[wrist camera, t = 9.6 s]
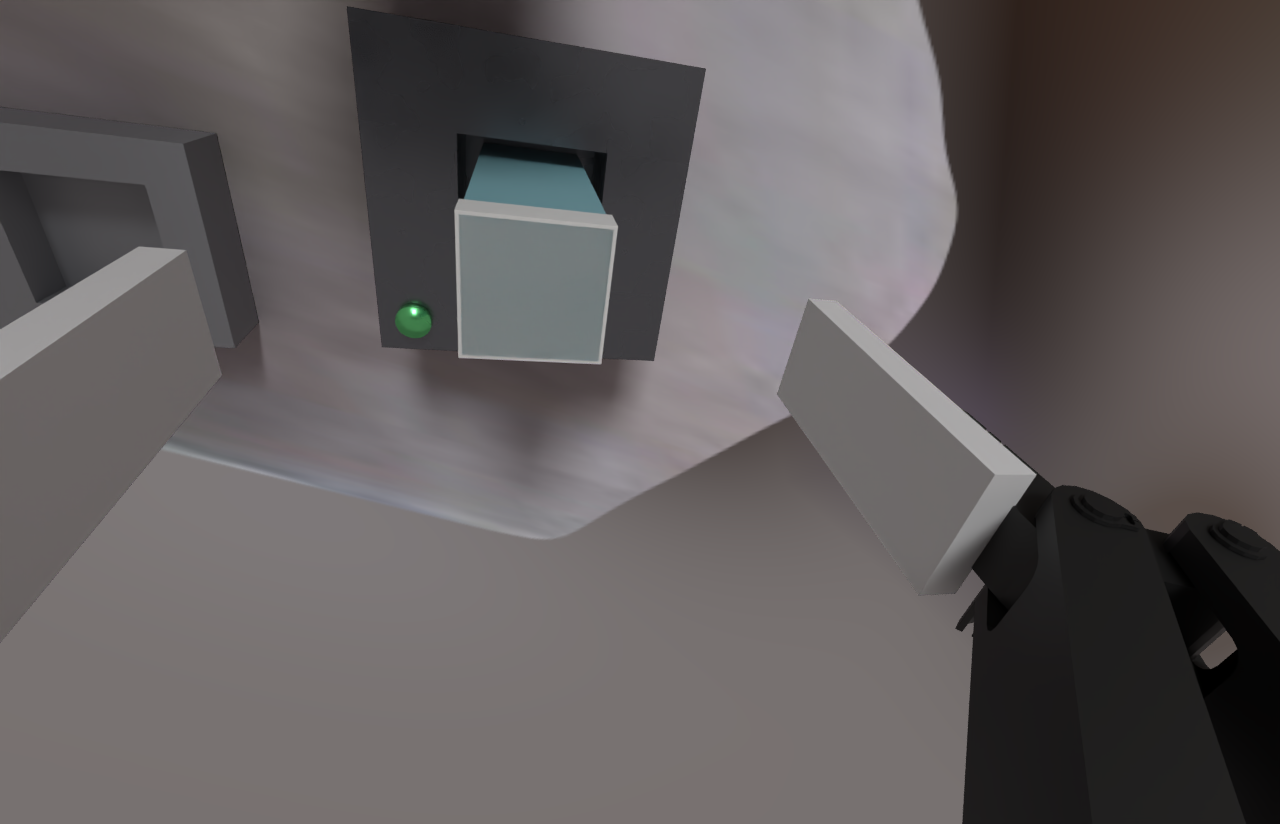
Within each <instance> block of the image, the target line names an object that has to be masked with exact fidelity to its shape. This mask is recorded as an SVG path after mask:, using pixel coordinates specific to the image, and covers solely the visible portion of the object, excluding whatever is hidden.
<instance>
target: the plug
mask: <svg viewBox="0 0 1280 824" xmlns="http://www.w3.org/2000/svg"><path fill="white" fill-rule="evenodd" d="M454 213H455V249H456V285H457V322H458V358H473V359H495V360H517V361H539V362H561V363H582V364H601V362H602V354H603V346H604V338H605V329H606V321H607V313H608V305H609V296H610V288H611V280H612V272H613V263H614V255H615V247H616V239H617V230H618V225H617V223H616V222H615V220H614V218H613V216H612V215H608V214H606V213H605V211H604V208H603V206H602V204H601V202H600V200H599V198H598V196H597V194H596V192H595V190H594V188H593V186H592V184H591V182H590V180H589V178H588V176H587V174H586V172H585V170H584V168H583V166H582V164H581V161H580V159H579V157H578V155H577V154H569V153H562V152H554V151H546V150H538V149H530V148H523V147H515V146H507V145H499V144H491V143H483V146H482V149H481V152H480V154H479V157H478V160H477V163H476V166H475V169H474V172H473V174H472V177H471V180H470V183H469V186H468V189H467V192H466V195H465V197H464V199H458V202H457V204H456V207H455V210H454Z"/></svg>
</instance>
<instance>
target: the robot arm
mask: <svg viewBox="0 0 1280 824" xmlns="http://www.w3.org/2000/svg"><path fill="white" fill-rule="evenodd" d="M221 376H222V373H221V369H220V366H219V362H218V359H217V355H216V352H215V348H214V345H213V341H212V338H211V334H210V331H209V327H208V324H207V321H206V317H205V314H204V310H203V307H202V303H201V300H200V296H199V293H198V289H197V286H196V282H195V279H194V275H193V272H192V268H191V265H190V261H189V258H188V254H187V251H186V250H178V249H166V248H153V247H140V246H139V247H137V248H136V249H134V250H132V251H131V252H129V253H127V254H126V255H124V256H122V257H120V258H119V259H117V260H115V261H114V262H112V263H110V264H109V265H107V266H105V267H104V268H102V269H100V270H99V271H97V272H95V273H94V274H92V275H90V276H89V277H87V278H85V279H84V280H82V281H80V282H79V283H77V284H75V285H74V286H72V287H70V288H69V289H67V290H65V291H64V292H62V293H60V294H59V295H57V296H55V297H54V298H52V299H50V300H49V301H47V302H45V303H44V304H42V305H40V306H38V307H37V308H35V309H33V310H32V311H30V312H28V313H27V314H25V315H23V316H22V317H20V318H18V319H17V320H15V321H13V322H12V323H10V324H8V325H7V326H5V327H3V328H2V329H0V643H1V641H2V640H3V639H4V638H5V637H6V635H7V634H8V633H9V632H10V631H11V629H12V628H13V627H14V626H15V624H16V623H17V622H18V621H19V620H20V619H21V617H22V616H23V615H24V614H25V612H26V611H27V610H28V609H29V608H30V606H31V605H32V604H33V603H34V602H35V600H36V599H37V598H38V597H39V596H40V594H41V593H42V592H43V591H44V589H45V588H46V587H47V586H48V585H49V583H50V582H51V581H52V580H53V578H54V577H55V576H56V575H57V574H58V573H59V571H60V570H61V569H62V568H63V566H64V565H65V564H66V563H67V562H68V561H69V559H70V558H71V557H72V556H73V555H74V553H75V552H76V551H77V550H78V549H79V547H80V546H81V545H82V544H83V542H84V541H85V540H86V539H87V538H88V536H89V535H90V534H91V533H92V531H93V530H94V529H95V528H96V527H97V526H98V524H99V523H100V522H101V521H102V520H103V518H104V517H105V516H106V515H107V514H108V512H109V511H110V510H111V508H112V507H113V506H114V505H115V504H116V503H117V501H118V500H119V499H120V498H121V496H122V495H123V494H124V493H125V492H126V490H127V489H128V488H129V487H130V486H131V485H132V483H133V482H134V481H135V480H136V479H137V477H138V476H139V475H140V474H141V472H142V471H143V470H144V469H145V468H146V466H147V465H148V464H149V463H150V462H151V460H152V459H153V458H154V457H155V456H156V454H157V453H158V452H159V451H160V450H161V448H162V447H163V446H164V445H165V444H166V442H167V441H168V440H169V439H170V438H171V436H172V435H173V434H174V433H175V431H176V430H177V429H178V428H179V427H180V425H181V424H182V423H183V422H184V421H185V419H186V418H187V417H188V416H189V415H190V413H191V412H192V411H193V410H194V409H195V407H196V406H197V405H198V404H199V403H200V401H201V400H202V399H203V398H204V396H205V395H206V394H207V393H208V392H209V390H210V389H211V388H212V387H213V386H214V384H215V383H216V382H217V381H218V380H219V378H220V377H221ZM777 395H778V396H779V398H780V399H781V401H782V402H783V403H784V405H785V406H786V408H787V409H788V411H789V412H790V413H791V415H792V416H793V418H794V419H795V420H796V422H797V423H798V425H799V426H800V428H801V429H802V430H803V432H804V433H805V435H806V436H807V437H808V439H809V440H810V442H811V443H812V445H813V446H814V447H815V449H816V450H817V452H818V453H819V454H820V456H821V457H822V459H823V460H824V462H825V463H826V464H827V466H828V467H829V469H830V470H831V471H832V473H833V474H834V476H835V477H836V479H837V480H838V481H839V483H840V484H841V486H842V487H843V489H844V490H845V491H846V493H847V494H848V496H849V497H850V499H851V500H852V501H853V503H854V504H855V506H856V507H857V508H858V510H859V511H860V513H861V514H862V516H863V517H864V518H865V520H866V521H867V523H868V524H869V526H870V527H871V528H872V530H873V531H874V533H875V534H876V536H877V537H878V538H879V540H880V541H881V542H882V544H883V546H884V547H885V548H886V550H887V551H888V553H889V554H890V556H891V557H892V558H893V560H894V561H895V563H896V564H897V565H898V567H899V568H900V570H901V571H902V573H903V574H904V575H905V577H906V578H907V580H908V581H909V582H910V584H911V585H912V587H913V588H914V589H915V591H916V592H917V594H918V595H919V596H921V595H938V594H955V593H956V592H957V591H958V589H959V588H960V586H961V585H962V583H963V582H964V580H965V579H966V577H967V576H968V574H969V573H970V572H971V570H972V569H973V570H974V571H975V573H976V574H977V575H978V576H979V577H980V579H981V580H982V581H983V582H984V583H985V585H984V586H983V588H982V589H981V591H980V592H979V593H978V595H977V596H976V598H975V599H974V601H973V602H972V603H971V605H970V606H969V607H968V609H967V610H966V612H965V613H964V615H963V616H962V618H961V619H960V620H959V622H958V624H957V626H956V629H957V630H960V631H963V630H964V628H965V627H966V626H967V624H969V623H973V622H974V631H973V634H972V637H973V648H972V666H971V683H970V701H969V718H968V735H967V753H966V770H965V787H964V788H965V789H964V805H963V822H962V824H1280V551H1279V550H1278V549H1276V548H1275V547H1274V546H1273V545H1272V544H1270V543H1269V542H1267V541H1266V540H1264V539H1263V538H1261V537H1260V536H1259V535H1258V534H1257V533H1256V532H1255V531H1253V530H1252V529H1250V528H1248V527H1246V526H1241V524H1239V523H1237V522H1235V521H1232V520H1225V519H1222V518H1220V517H1217V516H1214V515H1208V514H1203V513H1192V514H1188V515H1187V516H1186V517H1185V518H1184V519H1183V520H1182V521H1181V522H1180V523H1179V525H1178V526H1177V527H1176V528H1175V529H1174V530H1173V531H1172V532H1171V533H1170V534H1167V533H1162V532H1158V531H1153V530H1149V529H1145V528H1144V527H1143V525H1142V523H1141V522H1140V521H1139V520H1138V519H1137V517H1136V516H1135V515H1133V514H1131V513H1130V512H1129V511H1128V510H1127V509H1125V508H1124V507H1122V506H1120V505H1119V504H1117V503H1115V502H1114V501H1112V500H1111V499H1109V498H1107V497H1104V496H1102V495H1100V494H1098V493H1096V492H1093V491H1090V490H1087V489H1084V488H1080V487H1077V486H1066V485H1065V486H1064V485H1062V486H1059V487H1056V488H1054V487H1053V486H1052V485H1051V484H1050V483H1049V482H1048V481H1046V480H1045V479H1044V478H1043V477H1042V476H1040V475H1039V474H1038V473H1037V472H1036V471H1035V470H1034V469H1033V468H1031V467H1030V466H1029V465H1028V464H1027V463H1026V462H1024V461H1023V460H1022V459H1021V458H1020V457H1019V456H1017V455H1016V454H1015V453H1014V452H1013V451H1012V450H1010V449H1009V448H1008V447H1007V446H1006V445H1002V444H1001V441H1000V440H999V439H998V438H997V437H995V436H994V435H993V434H992V433H991V432H987V431H986V428H985V427H984V426H983V425H982V424H980V423H979V422H978V421H977V420H976V419H974V418H973V417H972V416H971V415H970V414H969V413H967V412H966V411H964V410H962V409H961V408H959V407H958V406H957V405H956V404H955V403H954V402H952V401H951V400H950V399H949V398H948V397H946V395H944V394H943V393H942V392H941V391H940V390H939V389H937V388H936V387H935V386H934V385H933V384H932V383H931V382H929V381H928V380H927V379H926V378H925V377H923V375H921V374H920V373H919V372H918V371H917V370H916V369H914V368H913V367H912V366H911V365H910V364H908V363H907V362H906V361H905V360H904V359H903V358H902V357H901V356H899V355H898V354H897V353H896V352H895V351H894V350H893V349H891V348H890V347H889V346H888V345H887V344H886V343H885V342H883V341H882V340H881V339H880V338H879V337H878V336H876V335H875V334H874V333H873V332H872V331H871V330H870V329H868V328H867V327H866V326H865V325H864V324H863V323H861V322H860V321H859V320H858V319H857V318H856V317H855V316H853V315H852V314H851V313H850V312H849V311H848V310H847V309H845V308H844V307H843V306H842V305H841V304H840V303H838V302H837V301H832V300H819V299H808V302H807V305H806V308H805V311H804V314H803V317H802V320H801V323H800V326H799V329H798V332H797V335H796V338H795V341H794V344H793V347H792V350H791V353H790V356H789V359H788V362H787V366H786V369H785V372H784V375H783V378H782V381H781V384H780V387H779V390H778V393H777ZM1225 631H1227V632H1228V633H1229V635H1230V636H1231V637H1232V639H1233V641H1234V643H1235V645H1236V647H1237V650H1236V651H1235V652H1234V653H1232V654H1231V655H1230V656H1229V657H1228V658H1227V659H1225V660H1224V661H1223V662H1222V663H1220V664H1219V665H1218V666H1216V667H1214V668H1212V669H1210V668H1209V667H1207V665H1206V664H1205V663H1204V661H1203V659H1202V658H1201V656H1200V655H1199V654H1200V653H1201V652H1202V651H1203V650H1205V649H1206V648H1207V647H1208V646H1209V645H1210V644H1211V643H1212V642H1213V641H1215V640H1216V639H1217V638H1218V637H1219V636H1220V635H1222V634H1223V633H1224V632H1225Z"/></svg>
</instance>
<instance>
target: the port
mask: <svg viewBox="0 0 1280 824" xmlns="http://www.w3.org/2000/svg"><path fill="white" fill-rule="evenodd" d="M347 14H348V23H349V33H350V43H351V52H352V62H353V72H354V81H355V91H356V101H357V111H358V120H359V130H360V140H361V149H362V159H363V169H364V178H365V188H366V198H367V207H368V217H369V227H370V236H371V246H372V256H373V265H374V275H375V285H376V295H377V304H378V314H379V324H380V333H381V343H382V347H389V348H409V349H429V350H449V351H458V322H457V285H456V249H455V213H454V210H455V207H456V204H457V202H458V199H464V197H465V195H466V192H467V189H468V186H469V183H470V180H471V177H472V174H473V172H474V169H475V166H476V163H477V160H478V157H479V154H480V152H481V149H482V146H483V143H491V144H499V145H507V146H515V147H523V148H530V149H538V150H546V151H554V152H562V153H569V154H577V155H578V157H579V159H580V161H581V164H582V166H583V168H584V170H585V172H586V174H587V176H588V178H589V180H590V182H591V184H592V186H593V188H594V190H595V192H596V194H597V196H598V198H599V200H600V202H601V204H602V206H603V208H604V211H605V213H606V214H608V215H612V216H613V218H614V220H615V222H616V223H617V225H618V230H617V239H616V247H615V255H614V263H613V272H612V280H611V288H610V296H609V305H608V313H607V321H606V329H605V338H604V346H603V354H602V358H608V359H627V360H647V361H654V357H655V351H656V346H657V340H658V334H659V329H660V323H661V318H662V312H663V306H664V301H665V295H666V289H667V284H668V278H669V273H670V267H671V261H672V256H673V250H674V245H675V239H676V233H677V228H678V222H679V217H680V211H681V205H682V200H683V194H684V189H685V183H686V177H687V172H688V166H689V160H690V155H691V149H692V144H693V138H694V132H695V127H696V121H697V116H698V110H699V104H700V99H701V93H702V88H703V82H704V76H705V71H706V69H705V68H699V67H693V66H687V65H682V64H676V63H670V62H664V61H659V60H653V59H647V58H641V57H636V56H630V55H624V54H618V53H613V52H607V51H601V50H595V49H590V48H584V47H578V46H572V45H566V44H561V43H555V42H549V41H543V40H538V39H532V38H526V37H520V36H515V35H509V34H503V33H497V32H492V31H486V30H480V29H474V28H469V27H463V26H457V25H451V24H446V23H440V22H434V21H428V20H423V19H417V18H411V17H405V16H400V15H394V14H388V13H382V12H377V11H371V10H365V9H359V8H354V7H348V6H347Z"/></svg>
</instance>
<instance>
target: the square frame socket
mask: <svg viewBox="0 0 1280 824" xmlns="http://www.w3.org/2000/svg"><path fill="white" fill-rule="evenodd" d="M139 246H140V247H153V248H166V249H178V250H186V251H187V254H188V258H189V261H190V265H191V268H192V272H193V275H194V279H195V282H196V286H197V289H198V293H199V296H200V300H201V303H202V307H203V310H204V314H205V317H206V321H207V324H208V327H209V331H210V334H211V338H212V341H213V345H214V347H221V348H236V346H237V345H238V344H239V343H240V342H241V341H242V340H243V339H244V338H245V337H246V336H247V334H248V333H249V332H250V331H251V330H252V329H253V328H254V327H255V326H256V325H257V324H258V323H259V322H258V317H257V313H256V308H255V304H254V299H253V295H252V290H251V286H250V281H249V277H248V272H247V268H246V264H245V259H244V255H243V250H242V246H241V241H240V237H239V232H238V228H237V223H236V219H235V214H234V210H233V206H232V201H231V197H230V192H229V188H228V183H227V179H226V174H225V170H224V165H223V161H222V156H221V152H220V147H219V143H218V139H217V134H216V133H210V132H201V131H193V130H185V129H177V128H169V127H160V126H152V125H144V124H136V123H127V122H119V121H111V120H103V119H95V118H86V117H78V116H70V115H62V114H54V113H45V112H37V111H29V110H21V109H12V108H4V107H0V329H2V328H3V327H5V326H7V325H8V324H10V323H12V322H13V321H15V320H17V319H18V318H20V317H22V316H23V315H25V314H27V313H28V312H30V311H32V310H33V309H35V308H37V307H38V306H40V305H42V304H44V303H45V302H47V301H49V300H50V299H52V298H54V297H55V296H57V295H59V294H60V293H62V292H64V291H65V290H67V289H69V288H70V287H72V286H74V285H75V284H77V283H79V282H80V281H82V280H84V279H85V278H87V277H89V276H90V275H92V274H94V273H95V272H97V271H99V270H100V269H102V268H104V267H105V266H107V265H109V264H110V263H112V262H114V261H115V260H117V259H119V258H120V257H122V256H124V255H126V254H127V253H129V252H131V251H132V250H134V249H136V248H137V247H139Z"/></svg>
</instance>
